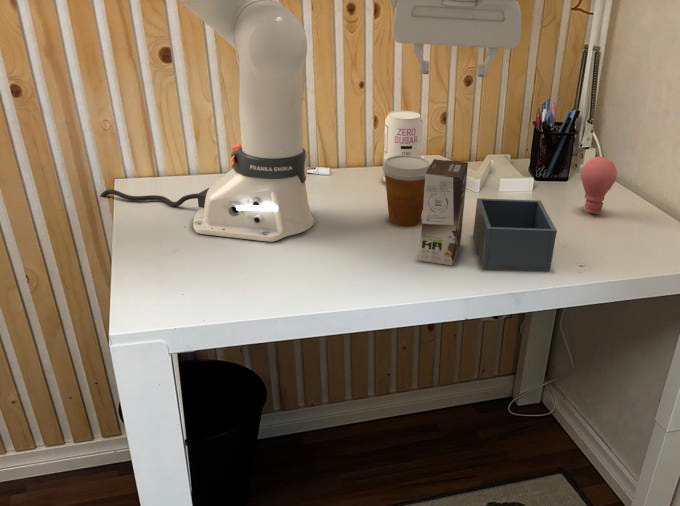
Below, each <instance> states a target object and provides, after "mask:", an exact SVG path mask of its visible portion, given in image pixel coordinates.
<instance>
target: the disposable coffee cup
mask: <svg viewBox="0 0 680 506" xmlns="http://www.w3.org/2000/svg"><path fill="white" fill-rule="evenodd" d="M430 165H431V161H429V160H428V159H426V158H424V157H422V156H421V157H417V156H411V155H397V156H392V157H389V158H387V159H386V161H385V164H384V163H383V165H382V170H383V171H384V173H385V180H386V182H385V191H386V200H387V201H386V202H387V213H388V214H387V215H388V222H389V223H390V224H391V225H393V226H395V227H400V228H413V227H416V226H419V225H420V224H421V223H422V215H423V200H424V186H425V173H426V171H427V170H428V168H429V167H430Z"/></svg>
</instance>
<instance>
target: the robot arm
mask: <svg viewBox="0 0 680 506" xmlns="http://www.w3.org/2000/svg"><path fill="white" fill-rule="evenodd" d="M178 1H179V2H180V3H181V4H182V5H184V6H185V7H186V9H188V10H189V11H190V12H191V13H192V14H194V15H195V16H196V17H197V18H199V19H200V20H201V21H202V22H203V23H204V24H206V25H207V26H208V27H209V28H210V29H211V30H213V31H214V32H215V33H216V34H217V35H219V36H220V37H221V38H222V39H223V40H224V41H225V42H226V43H228V44H229V45H230V46H231V47H232V48H233V49H234V50H235V51H236V52H237V53H238V64H239V102H238V113H239V128H240V138H241V139H240V140H241V142H240V143H236V144H234V145H233V147H232V149H231V154H230V160H231V162H230V163H231V167H232V168H231V169H230V170H229V171H227V172H226V173H225V174H224V175H222V176H221V177H219V178H218V179H217V180H216V181H214V182H213V183H212V184H211V185H210V186H209V187H208V188H205V189H204V190H202V191H200V192H198V193H191V194H186V195H184V196H182V197H181V198H179V199H178V200H176V201H172V200H171V199H169V198H168V197H165V196H163V195H157V194H150V195H130V194H126V193H124V192H121V191H119V190H115V189H113V188H112V189H111V188H110V189H106V190H104V191H102V192H101V193H100V195H99V197H100V198H106V197H107V196H108V195H114V196H117V197H119V198H122V199H124V200H127V201H133V202H144V201H145V202H146V201H159V202H160V201H161V202H164V203H165V204H167V205H168V206H170V207H173V208H175V207H180V206H181V205H182V204H184V203H185V202H187V201H190V200H196V199H197V205H198V208H200V209H198V211H197V212H196V213H195V215H194V217H193V221H192V222H193V223H192V224H193V227H192V228H193V230H194V231H195V232H196V233H197V234H199V235H207V236H216V237H224V238H235V239H242V240H251V241H253V240H254V241H260V242H269V243H270V242H271V243H272V242H277V241H280V240H282V239H284V238H286V237H289V236H295V235H298V234H301V233H304V232H306V231H307V230H310V229H311V227H312V226H313V225H314V223H315V222H314V221H315V220H314V218H313V215H312V211H311V208H310V203H309V199H308V193H307V185H306V180H307V177H308V167H307V166H308V165H307V163H308V162H307V154H306V150H305V148H304V133H303V130H304V129H303V128H304V127H303V125H304V124H303V102H304V101H303V100H304V91H305V82H306V69H307V67H306V66H307V55H308V40H307V39H308V38H307V35H306V31H305V29H304V26H303V24H302V23H301V20H299V19H298V17H297V16H296V15H295V14H294V13H293V12H291V11H290V10H289V9H287V7H285V5H283V4H282V3H281V2H280V1H279V0H178ZM391 4H392V7H394V14H393V15H394V16H393V22H392V34H391V36H392V39H394V41H395V42H396V43H398V44H410V45H411V44H412V45H413V52H414V54H415V57H416V58H417V60H418V62H419V75H430V74H429V73H430V60H424V57H423V55H422V53H421V52H423V51H424V45H429V46H430V45H432V46H450V47H451V46H452V47H466V48H467V47H470V48H485V49H486V51H485V52H486V54H487V55H486V56H487V57H486V58H485V59H484V61H483V63H477V70H476V76H477V78H487V77H488V69H489V67H490V65H491V63H492V62H493V61H494V59H495V58H496V56H497V50H498V49H504V50H505V49H506V50H507V49H509V50H515V49H516V48H517V47H518V45H519V44H520V43H521V36H522V10H521V6H520V4H519V2H518V1H517V0H391Z"/></svg>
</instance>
